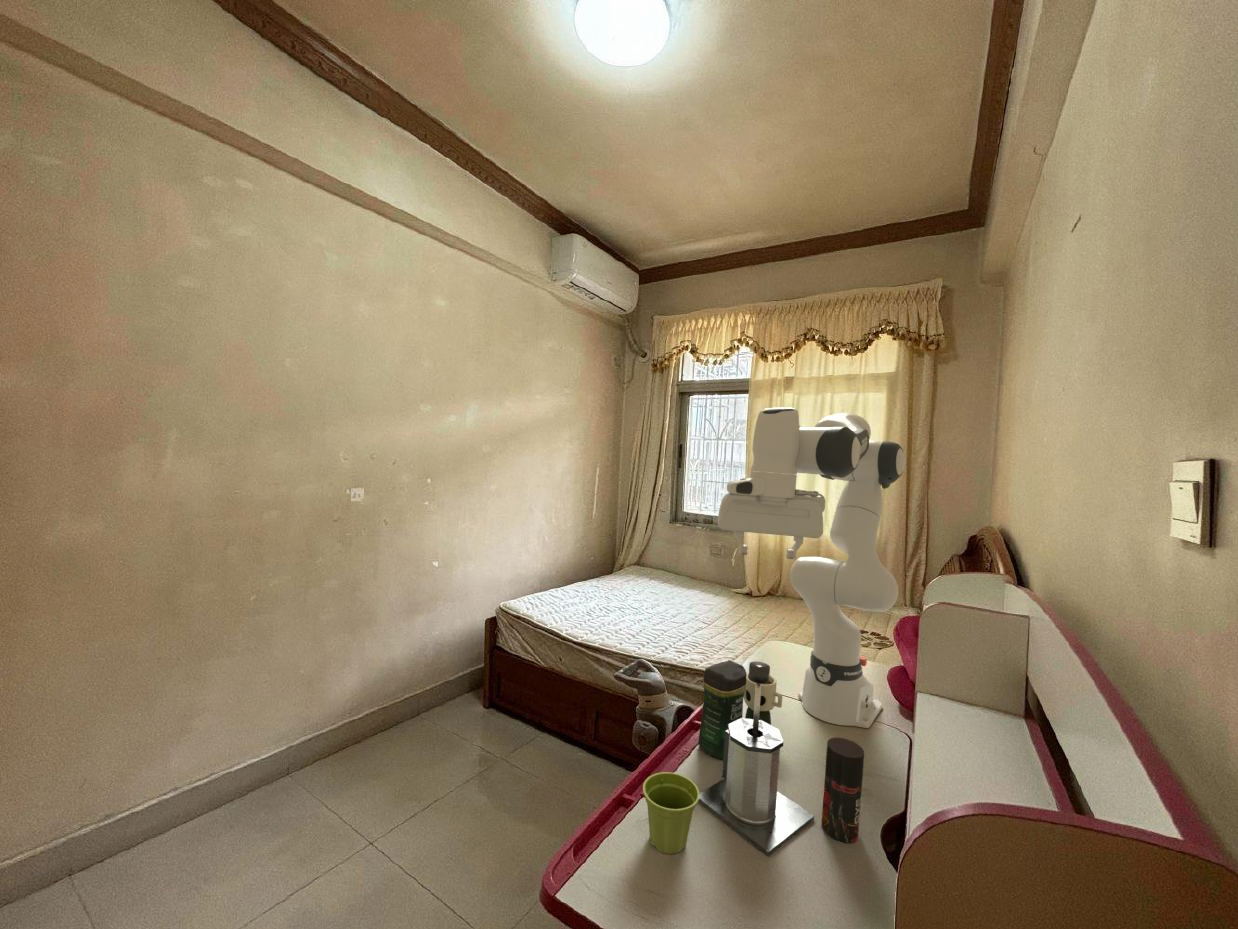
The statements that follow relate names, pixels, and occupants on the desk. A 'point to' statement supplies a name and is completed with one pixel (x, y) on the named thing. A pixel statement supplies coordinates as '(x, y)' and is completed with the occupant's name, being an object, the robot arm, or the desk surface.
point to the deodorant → (842, 790)
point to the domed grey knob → (758, 688)
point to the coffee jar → (721, 704)
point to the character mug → (762, 699)
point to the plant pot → (670, 809)
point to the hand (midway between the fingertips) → (766, 556)
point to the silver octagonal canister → (754, 788)
